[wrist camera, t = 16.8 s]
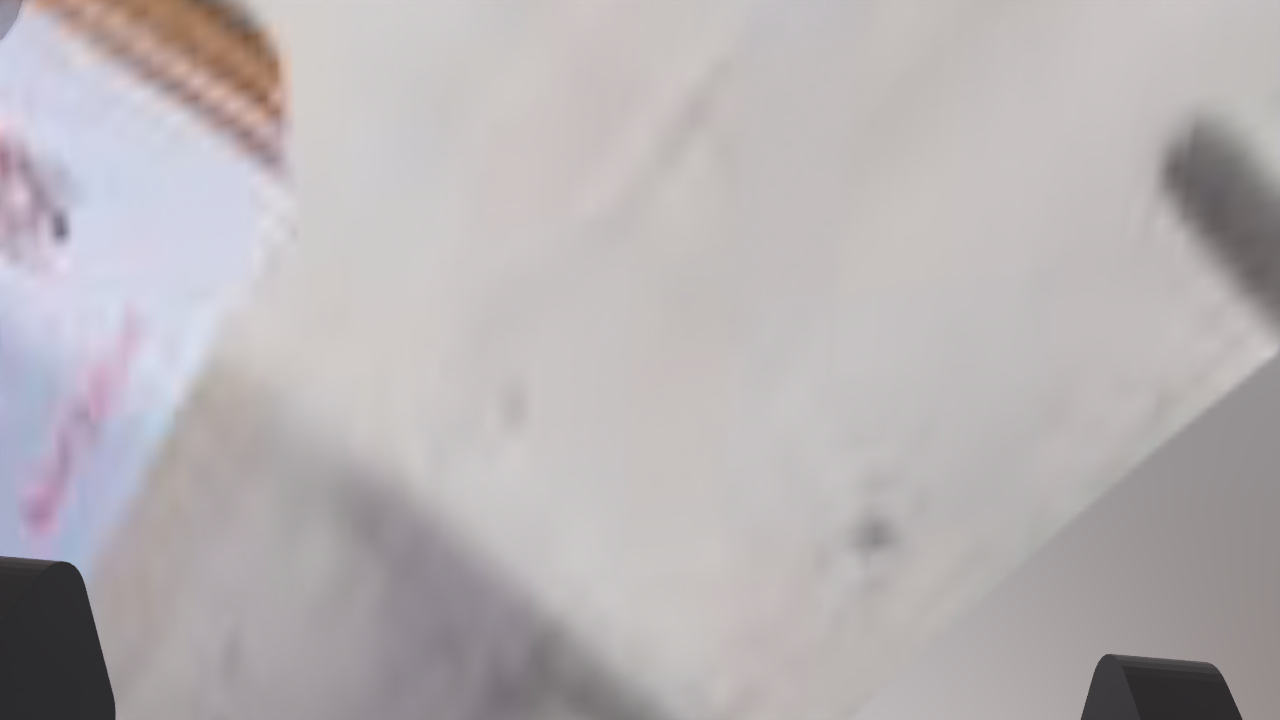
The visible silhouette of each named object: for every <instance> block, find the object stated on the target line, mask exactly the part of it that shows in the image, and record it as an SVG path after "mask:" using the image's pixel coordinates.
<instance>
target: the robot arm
mask: <svg viewBox="0 0 1280 720" xmlns="http://www.w3.org/2000/svg"><path fill="white" fill-rule="evenodd" d="M21 3H22V0H0V40H1V39H2V38H3V37H5V35H6V33H7V32H8V30H9V29H10V27H11V26H12V24H13V23H14V21H15V20H16V18H17V15H18V12H19V9H20V6H21ZM115 714H116V712H115V702H114V696H113V692H112V688H111V684H110V680H109V677H108V673H107V669H106V665H105V661H104V657H103V653H102V649H101V646H100V642H99V638H98V634H97V630H96V626H95V622H94V618H93V615H92V611H91V607H90V603H89V599H88V595H87V591H86V587H85V584H84V581H83V578H82V576H81V574H80V572H79V571H78V570H77V568H76V567H75V566H74V565H72V564H70V563H68V562H63V561H51V560H39V559H28V558H16V557H4V556H0V720H115ZM1081 720H1242V717H1241V715H1240V713H1239V711H1238V708H1237V706H1236V704H1235V702H1234V699H1233V697H1232V695H1231V693H1230V690H1229V688H1228V686H1227V684H1226V682H1225V680H1224V678H1223V676H1222V674H1221V673H1220V672H1219V670H1218V669H1217V668H1216V667H1215V666H1214V665H1212V664H1210V663H1207V662H1197V661H1185V660H1173V659H1161V658H1149V657H1138V656H1126V655H1114V654H1106V655H1105V656H1103V657H1102V658H1101V660H1100V661H1099V662H1098V665H1097V667H1096V669H1095V672H1094V675H1093V678H1092V682H1091V685H1090V689H1089V693H1088V696H1087V699H1086V703H1085V707H1084V710H1083V714H1082V717H1081Z"/></svg>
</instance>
